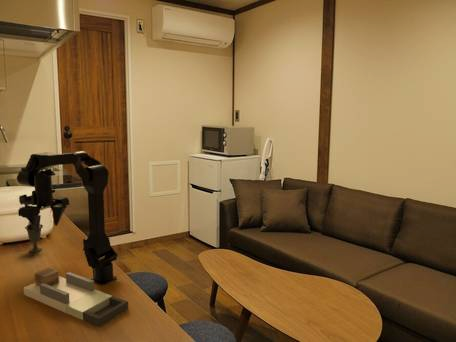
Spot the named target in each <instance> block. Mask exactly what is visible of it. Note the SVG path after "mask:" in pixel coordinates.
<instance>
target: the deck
mask: <svg viewBox="0 0 456 342" xmlns="http://www.w3.org/2000/svg"><path fill="white" fill-rule="evenodd" d="M52 287H55V288H57V289H60V290H62V291H65V292H67V293H69V301H70V303H68V304H64V303H61V302H59V301H57V300H54V299H52V298H49V297H47V296H45V295H42V294H40V287H39V286H37V285H35V282H34V283H30V284H29V285H26V286H24V287H23V295H24V296H26V297H28V298H30V299H32V300H35V301H37V302H40V303H42V304H45V305H47V306H49V307H50V308H54V309H56V310H58V311H61V312H63V313H65V314H67V315H70V316H72V317H74V318H77V319H79V320H81V321H83V312H84V311H86V310H87V311H89V312H91V313H95V312H97V311H99V310H100V309H102V308H104V307H106V306H107V305H109V304H110V300H109V297H111V296H112V295H111V294H108V293H106V292H103V291H100V290H98V289H95V290H94V291H92V292H91V291H89V290H86V289H83V288H81V287H78V286H75V285H73V284H70V283H67V282H66V277H62V276H60V275H59V283H57V284H55V285H53V286H52Z"/></svg>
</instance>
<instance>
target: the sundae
mask: <svg viewBox="0 0 456 342" xmlns="http://www.w3.org/2000/svg"><path fill="white" fill-rule="evenodd" d="M24 229H25V230H26V232H27V236H28V237H27V238H28V239H29V241H30V242H32V243H33V248H30V249H29V250H28V252H29V253H38V252H41V251H43V248H42V247H38V244H37V243H38V242H39V241H40V239H41V236H42V235H41V234H42V229H44V225H43V224H42V223H40V227H39V232H38V233H35V231H34V229H33V227H32V225H31V223H30V222H29V221H28V224H27V225H26V226H25V227H24Z"/></svg>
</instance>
